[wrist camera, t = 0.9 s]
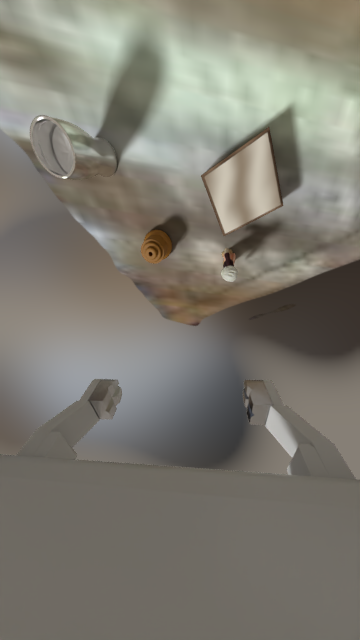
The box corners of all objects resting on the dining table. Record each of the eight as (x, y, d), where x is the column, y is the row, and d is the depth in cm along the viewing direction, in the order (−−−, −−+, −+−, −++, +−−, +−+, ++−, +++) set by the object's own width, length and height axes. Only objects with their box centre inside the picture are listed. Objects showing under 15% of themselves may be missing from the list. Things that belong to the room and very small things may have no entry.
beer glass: (119, 140, 34) (71, 121, 23) (119, 183, 39) (79, 186, 27) (85, 129, 34) (20, 105, 22) (89, 174, 38) (36, 172, 27)
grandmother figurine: (238, 266, 46) (244, 289, 37) (224, 271, 48) (227, 294, 38) (231, 238, 42) (235, 256, 33) (216, 244, 44) (216, 263, 34)
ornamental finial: (178, 248, 46) (157, 262, 49) (161, 222, 42) (140, 239, 46) (172, 259, 40) (149, 274, 43) (152, 229, 36) (128, 248, 40)
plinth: (263, 132, 30) (270, 125, 27) (277, 203, 36) (284, 205, 33) (202, 175, 36) (200, 175, 32) (223, 231, 41) (223, 237, 38)
